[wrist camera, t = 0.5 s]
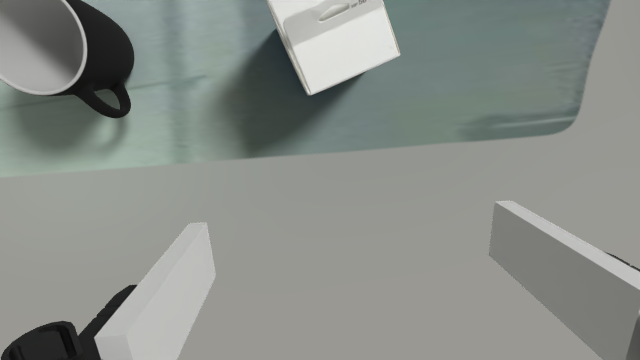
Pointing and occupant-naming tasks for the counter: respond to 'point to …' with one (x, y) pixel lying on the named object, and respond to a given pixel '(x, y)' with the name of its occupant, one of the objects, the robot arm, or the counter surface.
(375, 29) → the ink box
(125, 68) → the mug
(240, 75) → the counter surface
